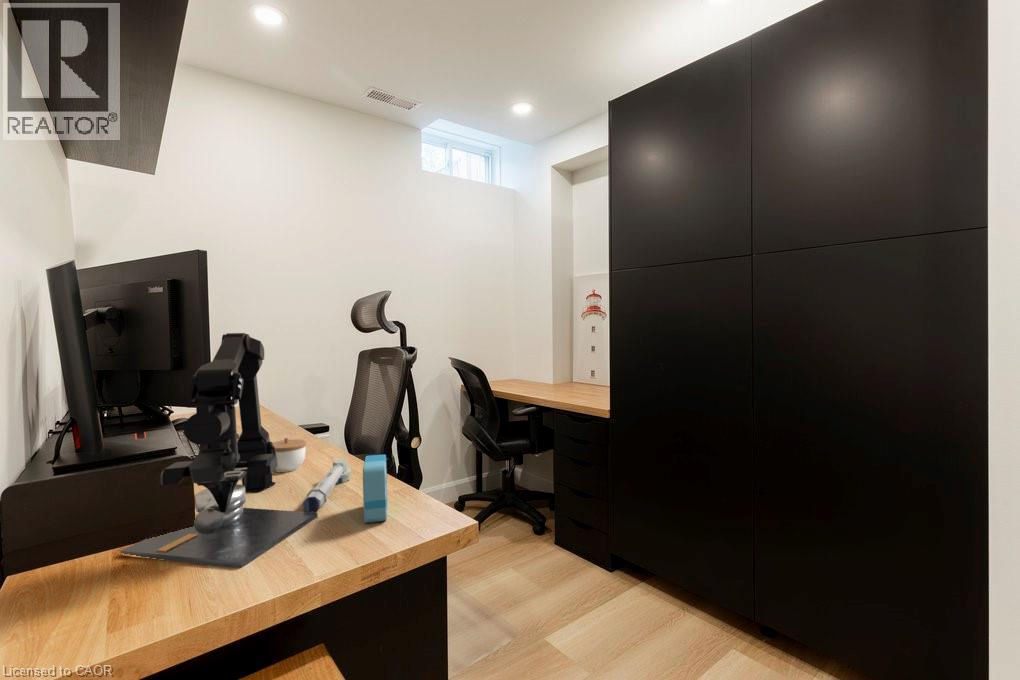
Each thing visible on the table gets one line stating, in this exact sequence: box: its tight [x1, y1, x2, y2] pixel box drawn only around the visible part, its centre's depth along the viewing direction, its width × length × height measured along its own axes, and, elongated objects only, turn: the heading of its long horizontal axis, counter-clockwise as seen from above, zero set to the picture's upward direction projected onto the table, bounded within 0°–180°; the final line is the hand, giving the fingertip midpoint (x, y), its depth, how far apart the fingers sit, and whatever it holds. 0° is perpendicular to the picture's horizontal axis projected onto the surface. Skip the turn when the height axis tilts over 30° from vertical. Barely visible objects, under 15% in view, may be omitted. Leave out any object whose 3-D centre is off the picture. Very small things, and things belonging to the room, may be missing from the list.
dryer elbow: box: [194, 483, 247, 534], centre depth 96 cm, size 18×9×5 cm, turn 23°
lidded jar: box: [272, 437, 307, 473], centre depth 140 cm, size 11×11×9 cm
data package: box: [362, 454, 388, 524], centre depth 105 cm, size 12×4×12 cm, turn 14°
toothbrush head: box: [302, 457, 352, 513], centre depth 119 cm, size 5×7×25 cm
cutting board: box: [119, 504, 318, 569], centre depth 95 cm, size 26×22×4 cm
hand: (224, 512), depth 91 cm, fingers closed
